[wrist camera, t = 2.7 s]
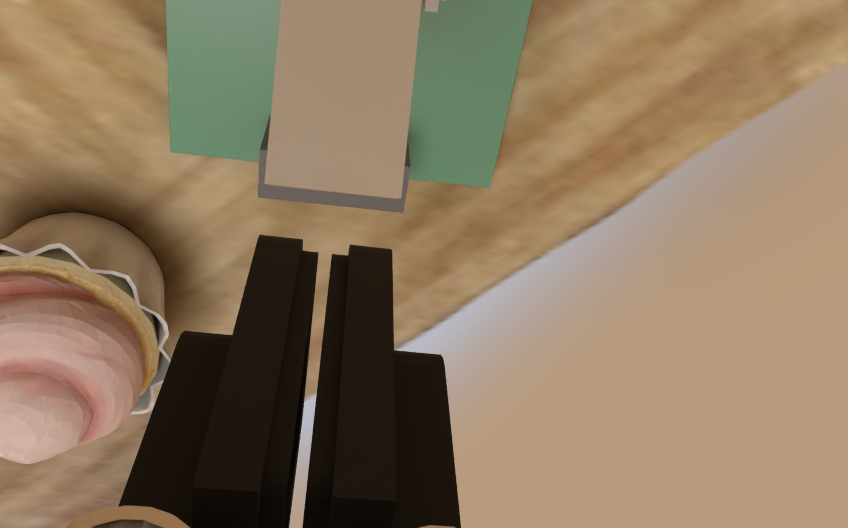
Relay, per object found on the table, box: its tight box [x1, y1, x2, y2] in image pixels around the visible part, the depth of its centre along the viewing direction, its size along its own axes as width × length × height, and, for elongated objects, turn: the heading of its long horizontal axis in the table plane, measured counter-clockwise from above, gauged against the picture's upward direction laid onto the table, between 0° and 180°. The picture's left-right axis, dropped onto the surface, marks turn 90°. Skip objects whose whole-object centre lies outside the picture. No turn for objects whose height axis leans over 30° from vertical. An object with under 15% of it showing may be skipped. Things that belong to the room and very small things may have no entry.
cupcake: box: [0, 212, 172, 464], centre depth 28 cm, size 9×9×10 cm
